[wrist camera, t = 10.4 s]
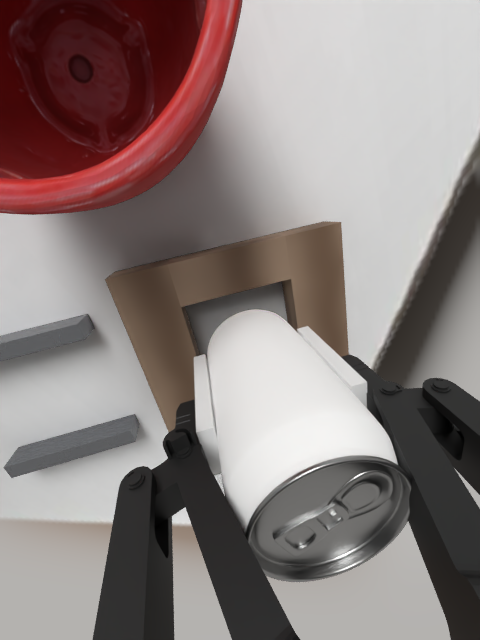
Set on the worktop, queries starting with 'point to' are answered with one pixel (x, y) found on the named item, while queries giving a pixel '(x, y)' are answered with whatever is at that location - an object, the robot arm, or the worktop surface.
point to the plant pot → (104, 95)
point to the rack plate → (220, 280)
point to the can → (300, 453)
